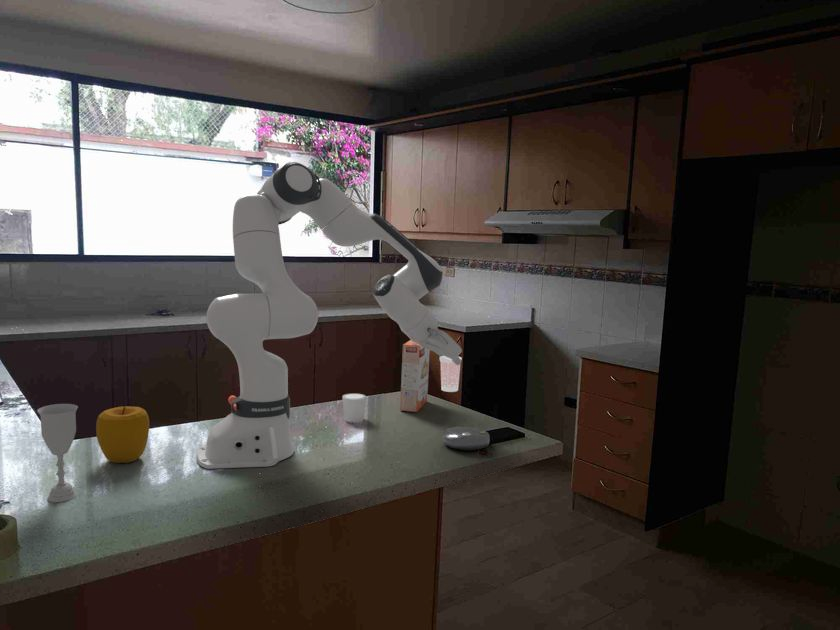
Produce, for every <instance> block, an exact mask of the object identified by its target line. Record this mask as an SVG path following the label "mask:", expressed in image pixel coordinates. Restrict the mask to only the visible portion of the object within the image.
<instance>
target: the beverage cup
mask: <svg viewBox="0 0 840 630" xmlns="http://www.w3.org/2000/svg"><path fill="white" fill-rule="evenodd" d="M458 357H459V358H460V359H461V360H462V359H463V358H462V357H461V356H459V355H458ZM462 361H463V360H462ZM439 362H440V387H441V389H440V390H441V391H443V392H448V393H455V392H458V391H459V385H460V384H459V383H460V372H461V363H460V364H459V365H456V364H454V363H453V362H452V360H451V359H450V358H448V357H445V356H441V357H440V356H439Z"/></svg>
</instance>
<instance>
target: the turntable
mask: <svg viewBox="0 0 840 630" xmlns="http://www.w3.org/2000/svg"><path fill="white" fill-rule="evenodd" d="M442 442H443V444H445V445H446V446H449V447H450V448H451V449H453V450H456V451H462V452H475V451H480V450H482V449H484V448H487V447H488V446H489V444H490V434H489V431H488V432H487V431H486V430H484V429H481V428H477V427H471V426H453V427H449V428H447V429H445V430H443V432H442ZM481 448H482V449H481Z"/></svg>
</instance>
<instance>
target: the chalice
mask: <svg viewBox="0 0 840 630" xmlns="http://www.w3.org/2000/svg"><path fill="white" fill-rule="evenodd" d="M78 408H79V406H78V405H76V404H75V403H74V404H72V403H55V404H50V405H44V406H42V407H39V408H38V409H37V413H38V414H39V416H40V428H41V429H40V433H41V437H42V439H43V442H44V443H45V445H46V446H47V448H48V450H49V451H50V452H51V454H52V455H53V456H56V457H57V460H56V461H57V462H56V463H55V466H56V467H57V472H56V473H55V475H56V476H57V477H58V481H57V483H56V484H55V485H53V486H52V487H51V488H50V492H49V494H48V497H47V498H46V499H47V501H48V502H51V503H62V502H67V501H70V500H72V499H74V498H76V496H77V492H76V491H75V489H74V488H73V485H72V484H71V483H69V482H67V481H65V475H66V473H67V472H66V471H65V469H64V468H65V467H64V466H65V465H66V463H65V462H64V455H66V454H67V453H69V450H70V448H71V446H72V444H73V442H74V439H75V436H76V434H77V433H76V432H77V421H76V419H77V418H76V417H77V416H76V415H77V414H76V413H77V410H78Z"/></svg>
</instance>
